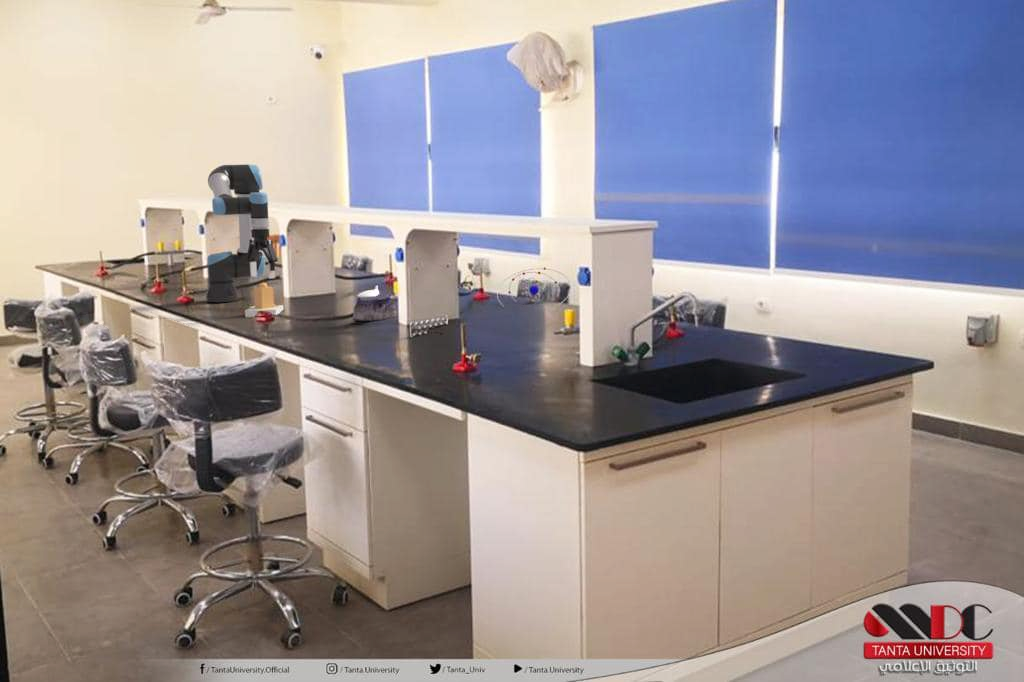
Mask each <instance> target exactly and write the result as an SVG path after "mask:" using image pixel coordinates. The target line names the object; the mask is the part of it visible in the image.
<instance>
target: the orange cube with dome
mask: <svg viewBox="0 0 1024 682" xmlns="http://www.w3.org/2000/svg"><path fill="white" fill-rule="evenodd" d="M274 295H275V294H274V286H268V284H267V283H266V282H261V283H259V285H258V286H254V287H253V301H254V302H253V303H254V304H253V306H255V308H259V309H265V308H274V305H275V296H274Z"/></svg>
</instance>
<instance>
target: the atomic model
mask: <svg viewBox="0 0 1024 682" xmlns="http://www.w3.org/2000/svg"><path fill="white" fill-rule="evenodd" d="M532 270H534V268H530V269H525V270H521V271H519V272H516V273H514V274H512V275H510V276H508V277H507V278H506V279H504V280H503V281H502V282H501V283H500V285H499V287H498V289H497V291H496V296H497V297H496V298H497V300H498V302H499V303H500V304H502V302H501V301H500V299H499V296H498V295H499V294H498V293H499V290H500V287H501V285H502V284H503V283H504V282H506V280H508V279H510V278H511V277H512V278H511V281H510V283H509V285H508V286H509V287H508V294H510V297H511V299H513V300H514V301H515V302H517V300H516V299H515V298H514V297H513V296H512V294H511V293H512V292H511V285H512V282H514V281H515V279H516V278H517V277H519V276H521V275H523V276H525V275H526V274H528V273H529V274H530V273H533V271H532ZM537 270H548V271H554V272H557V273H559V274H561V275H563V276H564V277H565V278H566V279H567V280H568V282H569V283H570V285H572V283H571V280H570V279H569V277H568V276H566V275H565V274H564V273H562V272H561V271H558V270H556V269H555V270H554V269H550V268H546V267H542V268H537ZM527 271H528V272H527ZM535 273H536V274H538V275H541V274H542V275H544V276H547V277H549V278H550V279H551V280H553V281H554V284H556V286H557V290H558V292H557V293H558V294H557V296H555V299H554V301H556V300H558V299H559V294H560V287H559V284H558V281H556V280H555V279H554V278H553V277H551V276H550V275H548V274H546V273H544V272H540V271H534V274H535ZM514 275H516V276H515V277H514V278H513V276H514ZM531 279H533V280H535V283H536V284H537V285H531V287H530V280H531ZM538 282H539V281H538V280H537V279H535V277H530V278H529V279H528V282H527V283H528V284H527V287H528V288H527V290H528V295H529V297H530V300H531V301H533V303H534V302H535V303H539V301H540V298H541V290H540V284H539V283H538ZM571 292H572V289H570V290H569V292H568V295H567V296H566V297H565V298H564V300H563V301H561V302H560V303H558V304H557V306H559V305H561V304H563V302H565V301H566V300H567V299H568V298H569V296H570V295H571ZM538 293H539V297H538V300H537V301H535V300H533V299H534V298H533V295H534V296H535V295H537V294H538ZM531 295H532V296H531ZM502 307H505V305H503V304H502Z"/></svg>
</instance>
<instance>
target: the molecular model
mask: <svg viewBox="0 0 1024 682" xmlns="http://www.w3.org/2000/svg"><path fill="white" fill-rule="evenodd" d="M448 321H449V319H448V315H446V320H445V318H444V317H442V318H441V319H440V317H437V318H436V320H435V318H431V320H430V321H429V319H426V321H425V322H424V321H423V320H421V321H420V322H419V323H418V321H415V322H414V324H413V322H412V321H409V335H410V338H413V337H414V336H416V335H419V336H421V335H422V334H423V333H424V334H426V335H427V334H428V333H433V330H430V329H429V328H432V327H434V326H435V327H438V326H439V325H441V326H442V325H443V326H445V325H444V324H446V325H448V324H449V323H448ZM423 328H424V329H425V330H423ZM412 329H415V331H414V333H412ZM418 330H420V331H418Z"/></svg>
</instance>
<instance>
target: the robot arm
mask: <svg viewBox="0 0 1024 682" xmlns="http://www.w3.org/2000/svg"><path fill="white" fill-rule="evenodd" d="M207 183H208V187H209V189H210V190H211V191H212V194H213V196H214V197H213V198H212V201H211V202H212V203H211V204H212V205H211V206H212V213H213V214H214V215H216V216H228V215H229V216H231V215H233V216H234V215H238V233H239V246H238V248H237V249H236V253H234V254H233V252H232V251H222V252H216V253H211V254H209V255H208V256H207V265H206V266H207V271H208V274H207V275H208V276H207V278H208V286H207V287H208V288H207V291H206V295H205V302H207V303H226V302H227V303H228V302H236V301H239V294H238V291H237V289H236V287H235V282H234V279H248V278H252V279H254V278H261V277H263V275H264V274H265V268H266V260H267V261H268V262H267V274H268V279H275V278H276V274H275V269H276V268H275V264H276V262H278V261H279V260H278V257H277V254H276V251H275V248H274V244H273V239H268V238H270V228H269V227H270V221H269V219H270V218H269V207H268V206H269V204H268V203H269V202H268V201H269V199H268V193H266V192H265V191H264V192H262V191H261V190H263V188H264V187H263V186H264V185H263V178H262V174H261V170H260V168H259V166H257V165H256V164H247V163H246V164H222V165H220V166H217V167H215V169H213V170H211V172H210V173H209V174H208V177H207ZM232 191H233V193H234V195H235V196H234V197H233V193H232ZM260 191H261V192H260Z"/></svg>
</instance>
